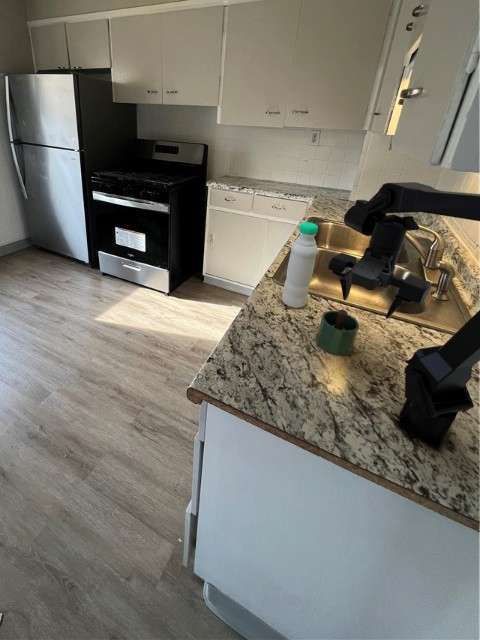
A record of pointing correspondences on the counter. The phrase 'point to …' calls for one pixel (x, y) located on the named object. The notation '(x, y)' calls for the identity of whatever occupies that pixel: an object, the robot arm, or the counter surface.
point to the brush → (340, 320)
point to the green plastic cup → (337, 334)
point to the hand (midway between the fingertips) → (365, 308)
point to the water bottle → (300, 266)
